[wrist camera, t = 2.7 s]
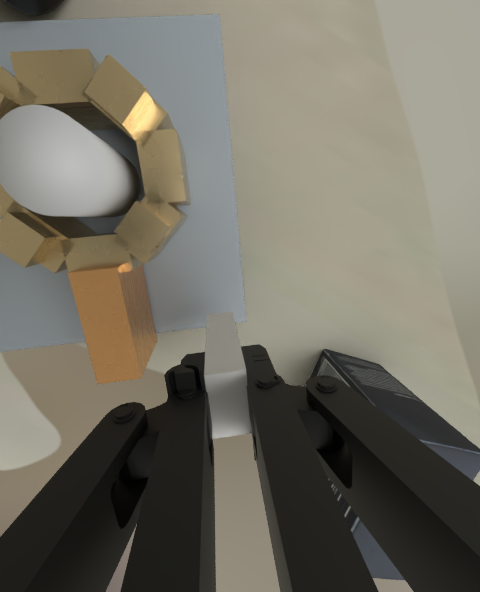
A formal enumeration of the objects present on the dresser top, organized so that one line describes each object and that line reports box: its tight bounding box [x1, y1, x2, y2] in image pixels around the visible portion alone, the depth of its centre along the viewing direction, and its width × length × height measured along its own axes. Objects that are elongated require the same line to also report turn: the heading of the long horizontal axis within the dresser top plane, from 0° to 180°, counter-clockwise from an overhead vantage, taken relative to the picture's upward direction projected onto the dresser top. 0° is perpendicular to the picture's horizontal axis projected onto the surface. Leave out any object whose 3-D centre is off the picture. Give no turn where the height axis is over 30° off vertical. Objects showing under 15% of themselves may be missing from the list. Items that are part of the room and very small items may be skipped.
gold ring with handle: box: [0, 49, 191, 384], centre depth 15 cm, size 16×10×5 cm, turn 5°
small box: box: [311, 350, 480, 581], centre depth 21 cm, size 11×6×10 cm, turn 161°
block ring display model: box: [0, 14, 246, 352], centre depth 15 cm, size 19×18×8 cm
